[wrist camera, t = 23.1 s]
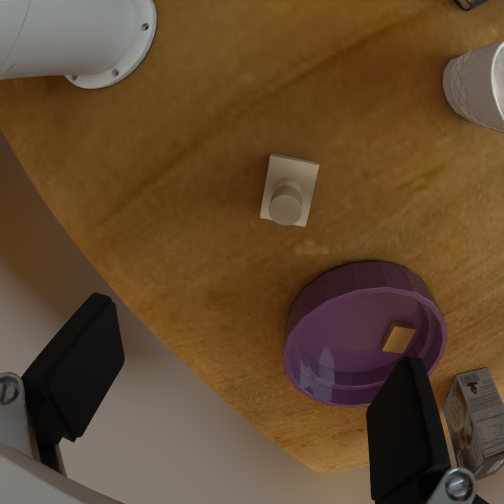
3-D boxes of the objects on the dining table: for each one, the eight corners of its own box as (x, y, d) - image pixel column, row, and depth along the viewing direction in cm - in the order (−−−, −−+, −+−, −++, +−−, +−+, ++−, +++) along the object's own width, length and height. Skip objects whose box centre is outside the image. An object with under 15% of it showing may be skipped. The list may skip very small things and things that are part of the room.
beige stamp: (305, 216, 30) (305, 251, 24) (263, 208, 31) (250, 240, 24) (317, 159, 28) (322, 178, 21) (272, 150, 28) (263, 166, 21)
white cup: (494, 136, 23) (554, 157, 14) (431, 113, 24) (485, 123, 15) (502, 66, 19) (563, 66, 10) (439, 39, 20) (492, 20, 11)
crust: (380, 344, 35) (381, 351, 34) (392, 319, 34) (394, 326, 32) (400, 347, 35) (402, 353, 34) (413, 323, 33) (416, 329, 32)
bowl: (274, 365, 40) (269, 396, 35) (305, 243, 32) (305, 271, 27) (397, 381, 39) (403, 411, 34) (455, 275, 30) (474, 302, 25)
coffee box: (472, 400, 39) (494, 475, 25) (441, 407, 41) (459, 487, 27) (488, 365, 36) (520, 447, 22) (454, 373, 37) (482, 462, 23)
